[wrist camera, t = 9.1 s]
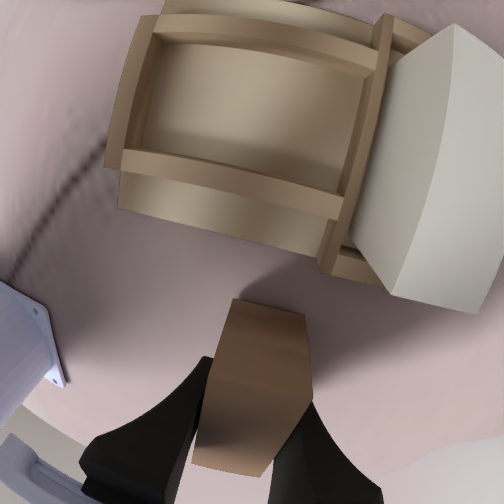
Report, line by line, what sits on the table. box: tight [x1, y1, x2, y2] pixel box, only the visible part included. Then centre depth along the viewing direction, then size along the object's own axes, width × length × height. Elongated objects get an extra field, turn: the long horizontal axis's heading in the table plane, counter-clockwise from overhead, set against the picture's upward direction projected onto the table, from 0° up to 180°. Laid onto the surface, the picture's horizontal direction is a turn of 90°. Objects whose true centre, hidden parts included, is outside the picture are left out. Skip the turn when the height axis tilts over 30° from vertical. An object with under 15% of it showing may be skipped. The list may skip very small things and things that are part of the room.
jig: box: [103, 0, 433, 289], centre depth 9 cm, size 14×10×2 cm
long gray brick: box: [347, 23, 504, 315], centre depth 7 cm, size 3×7×5 cm, turn 167°
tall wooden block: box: [191, 298, 313, 477], centre depth 11 cm, size 7×3×5 cm, turn 167°
